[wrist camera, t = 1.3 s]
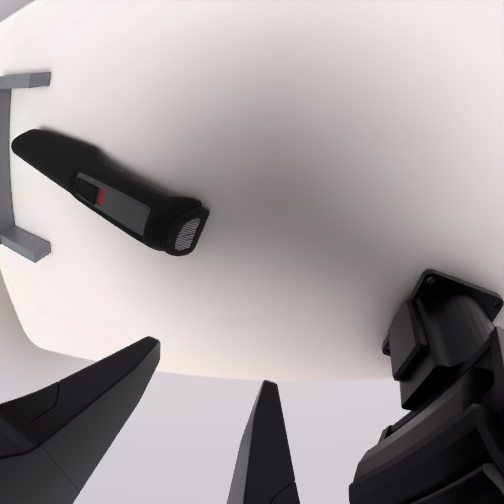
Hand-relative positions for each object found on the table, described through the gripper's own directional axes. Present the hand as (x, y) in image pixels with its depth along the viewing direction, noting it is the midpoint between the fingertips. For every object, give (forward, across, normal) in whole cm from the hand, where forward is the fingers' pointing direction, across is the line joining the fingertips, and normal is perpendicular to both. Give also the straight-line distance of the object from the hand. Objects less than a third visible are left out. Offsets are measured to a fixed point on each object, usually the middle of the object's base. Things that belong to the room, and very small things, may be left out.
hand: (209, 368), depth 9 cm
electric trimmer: (+10, +12, 0) cm, 16 cm away
